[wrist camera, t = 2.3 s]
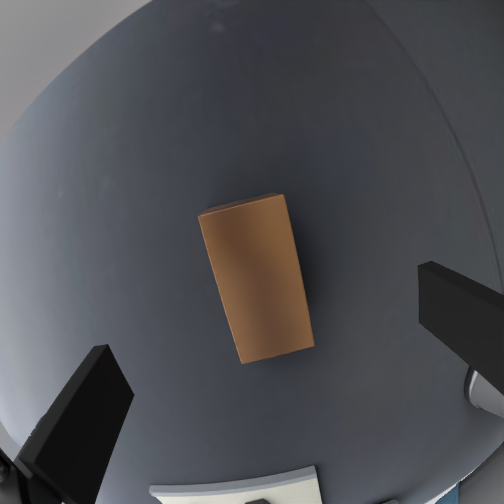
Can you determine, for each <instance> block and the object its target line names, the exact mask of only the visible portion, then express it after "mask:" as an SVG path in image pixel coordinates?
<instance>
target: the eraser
mask: <svg viewBox="0 0 504 504" xmlns="http://www.w3.org/2000/svg"><path fill="white" fill-rule="evenodd" d="M198 219H199V223H200V227H201V230H202V234H203V238H204V241H205V245H206V248H207V252H208V255H209V259H210V262H211V266H212V269H213V273H214V276H215V280H216V283H217V286H218V290H219V293H220V297H221V300H222V303H223V306H224V310H225V313H226V316H227V320H228V323H229V326H230V329H231V332H232V336H233V339H234V342H235V345H236V348H237V351H238V354H239V357H240V360H241V363H242V364H245V363H250V362H254V361H258V360H263V359H267V358H271V357H275V356H279V355H283V354H287V353H290V352H294V351H298V350H302V349H305V348H309V347H312V346H314V345H315V343H314V337H313V332H312V326H311V321H310V315H309V310H308V305H307V299H306V294H305V289H304V284H303V279H302V274H301V269H300V264H299V259H298V255H297V250H296V245H295V240H294V236H293V231H292V227H291V222H290V218H289V213H288V209H287V204H286V200H285V196H284V195H283V194H277V193H273V192H272V193H268V194H264V195H259V196H255V197H251V198H247V199H243V200H239V201H235V202H231V203H227V204H223V205H220V206H216V207H212V208H208V209H206V210H205V211H204V212H202V213H201V214H200V215H199V216H198Z"/></svg>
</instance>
